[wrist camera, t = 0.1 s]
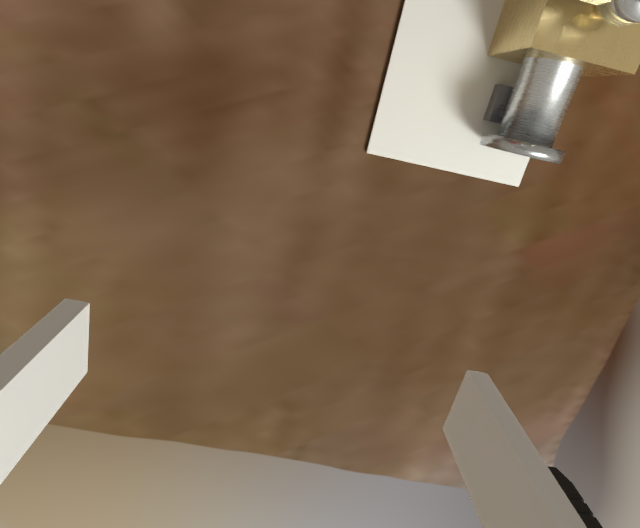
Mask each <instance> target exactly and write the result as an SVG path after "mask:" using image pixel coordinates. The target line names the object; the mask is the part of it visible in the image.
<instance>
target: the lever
mask: <svg viewBox="0 0 640 528" xmlns="http://www.w3.org/2000/svg"><path fill="white" fill-rule="evenodd" d="M580 1H583V2H587V3H590V4H594V5H597V8H598V11H599V13H600V15H601V17H602V18H603V19H604V20H605V21H606V22H607V23H609V24H611V25H614V26H628V25H633V24H638V23H640V0H580Z"/></svg>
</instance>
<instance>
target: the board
mask: <svg viewBox="0 0 640 528" xmlns="http://www.w3.org/2000/svg"><path fill="white" fill-rule="evenodd" d="M504 2H505V0H405V1H404V5H403V9H402V12H401V16H400V20H399V24H398V28H397V32H396V36H395V40H394V44H393V48H392V52H391V56H390V60H389V64H388V68H387V72H386V76H385V80H384V84H383V88H382V92H381V96H380V100H379V104H378V108H377V112H376V116H375V119H374V123H373V127H372V131H371V135H370V139H369V143H368V147H367V151H366V153H369V154H374V155H378V156H383V157H387V158H392V159H396V160H401V161H405V162H410V163H414V164H419V165H423V166H428V167H432V168H437V169H441V170H446V171H450V172H455V173H459V174H464V175H468V176H473V177H477V178H482V179H486V180H490V181H495V182H499V183H504V184H508V185H513V186H517V187H519V184H520V182H521V179H522V176H523V174H524V171H525V169H526V166H527V164H528V161H529V159H530V157H526V156H522V155H518V154H514V153H510V152H506V151H502V150H498V149H495V148H491V147H487V146H484V145H480V141H481V138H482V135H483V132H485V133H489V134H493V135H497V133H498V130H499V127H500V124H498V123H494V122H490V121H486V120H483V118H484V115H485V112H486V109H487V107H488V104H489V101H490V98H491V95H492V92H493V89H494V86H495V84H503V85H507V86H511V87H514V85H515V82H516V79H517V76H518V74H519V71H520V68H521V65H522V64H518V63H514V62H510V61H506V60H502V59H498V58H495V57H491V56H487V54H488V51H489V48H490V45H491V42H492V39H493V36H494V33H495V30H496V27H497V24H498V21H499V17H500V14H501V11H502V8H503V5H504Z"/></svg>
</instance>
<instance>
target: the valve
mask: <svg viewBox="0 0 640 528" xmlns="http://www.w3.org/2000/svg"><path fill="white" fill-rule="evenodd" d="M487 56H491V57H495V58H498V59H502V60H506V61H510V62H514V63H518V64H522V65H521V68H520V71H519V74H518V76H517V79H516V82H515V85H514V87H511V86H507V85H503V84H495V86H494V89H493V92H492V95H491V98H490V101H489V104H488V107H487V109H486V112H485V115H484V118H483V120H486V121H490V122H494V123H498V124H500V127H499V130H498V133H497V135H493V134H489V133H485V132H483V135H482V138H481V141H480V145H484V146H487V147H491V148H495V149H498V150H502V151H506V152H510V153H514V154H518V155H522V156H526V157H531V158H535V159H539V160H544V161H548V162H553V163H558V164H561V162H562V159H563V157H564V155H565V152H566V151H561V150H557V149H553V148H552V145H553V143H554V140H555V138H556V135H557V133H558V130H559V128H560V126H561V123H562V121H563V118H564V116H565V113H566V111H567V108H568V106H569V103H570V101H571V98H572V96H573V93H574V91H575V88H576V86H577V84H578V81H579V79H580V77H594V76H614V75H634V74H635V73H636V71H637V68H638V66H639V64H640V23H638V24H633V25H628V26H614V25H611V24H609V23H607V22H606V21H605V20H604V19H603V18H602V17H601V15H600V13H599V11H598V8H597V5H594V4H590V3H587V2H583V1H580V0H505V2H504V5H503V8H502V11H501V14H500V17H499V21H498V24H497V27H496V30H495V33H494V36H493V39H492V42H491V45H490V48H489V51H488V54H487Z"/></svg>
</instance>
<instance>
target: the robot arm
mask: <svg viewBox="0 0 640 528" xmlns="http://www.w3.org/2000/svg"><path fill="white" fill-rule="evenodd" d="M89 310H90V303H89V302H83V301H77V300H72V299H66V298H65V299H64V300H63V301H62V302H60V303H59V304H58V305H57V306H56V307H55V308H54V309H52V310H51V311H50V312H49V313H48V314H47V315H45V316H44V317H43V318H42V319H41V320H40V321H39V322H37V323H36V324H35V325H34V326H33V327H32V328H30V329H29V330H28V331H27V332H26V333H25V334H24V335H22V336H21V337H20V338H19V339H18V340H17V341H15V342H14V343H13V344H12V345H11V346H10V347H9V348H7V349H6V350H5V351H4V352H3V353H2V354H1V355H0V484H1V483H2V482H3V480H4V479H5V478H6V477H7V475H8V474H9V473H10V472H11V470H12V469H13V467H14V466H15V465H16V464H17V462H18V461H19V460H20V459H21V457H22V456H23V455H24V453H25V452H26V451H27V449H28V448H29V447H30V446H31V444H32V443H33V442H34V440H35V439H36V438H37V437H38V435H39V434H40V433H41V431H42V430H43V429H44V427H45V426H46V425H47V424H48V422H49V421H50V420H51V418H52V417H53V416H54V415H55V413H56V412H57V411H58V409H59V408H60V407H61V405H62V404H63V403H64V402H65V400H66V399H67V398H68V396H69V395H70V394H71V392H72V391H73V390H74V389H75V387H76V386H77V385H78V383H79V382H80V381H81V380H82V378H83V377H84V376H85V374H86V373H87V367H88V338H89ZM443 431H444V434H445V436H446V439H447V441H448V443H449V446H450V448H451V451H452V453H453V456H454V458H455V461H456V463H457V466H458V468H459V470H460V473H461V475H462V478H463V480H464V483H465V485H466V488H467V490H468V492H469V495H470V497H471V500H472V502H473V505H474V507H475V509H476V512H477V514H478V517H479V519H480V522H481V524H482V527H483V528H602V526H601V525H600V523H599V522H598V520H597V519H596V518H595V517H593V513H592V512H591V510H590V509H589V507H588V506H587V504H586V503H584V500H583V498H582V497H581V495H580V494H579V493H578V491H577V489H576V488H575V486H574V485H573V484H572V482H570V481H569V480H568V479H567V478H566V477H565V476H564V475H563V474H562V473H561V472H560V471H559V470H558V469H557V468H555V467H548V466H547V465H546V464H545V462H544V460H543V459H542V457H541V456H540V454H539V453H538V451H537V450H536V448H535V447H534V445H533V443H532V442H531V440H530V439H529V437H528V436H527V434H526V433H525V431H524V430H523V428H522V426H521V425H520V423H519V422H518V420H517V419H516V417H515V416H514V414H513V413H512V411H511V409H510V408H509V406H508V405H507V403H506V402H505V400H504V399H503V397H502V396H501V394H500V392H499V391H498V389H497V388H496V386H495V385H494V383H493V382H492V380H491V379H490V377H489V375H488V374H487V373H482V372H477V371H471V370H467V372H466V374H465V377H464V379H463V381H462V384H461V386H460V388H459V391H458V393H457V396H456V398H455V400H454V403H453V405H452V407H451V410H450V412H449V415H448V417H447V419H446V422H445V424H444V426H443Z"/></svg>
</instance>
